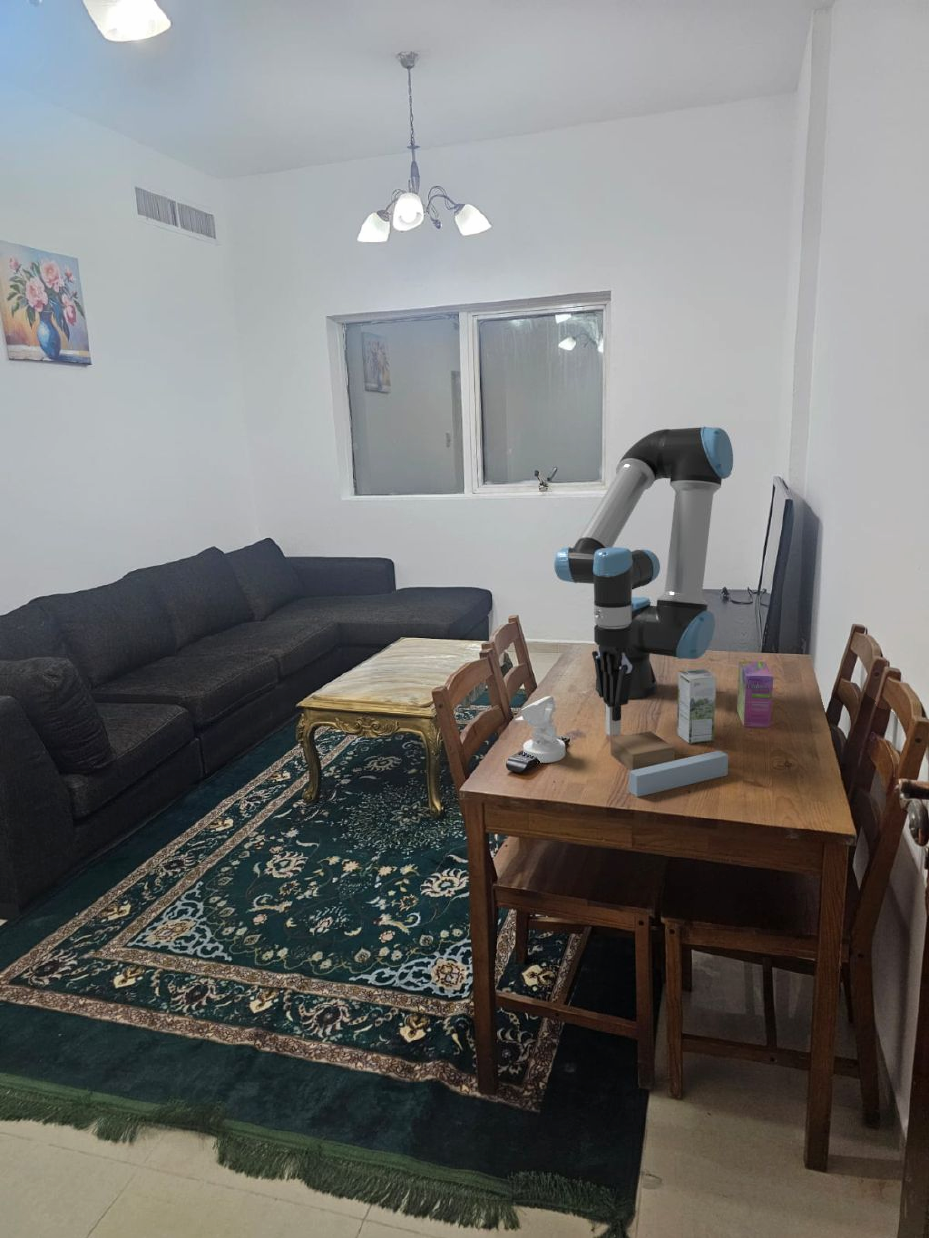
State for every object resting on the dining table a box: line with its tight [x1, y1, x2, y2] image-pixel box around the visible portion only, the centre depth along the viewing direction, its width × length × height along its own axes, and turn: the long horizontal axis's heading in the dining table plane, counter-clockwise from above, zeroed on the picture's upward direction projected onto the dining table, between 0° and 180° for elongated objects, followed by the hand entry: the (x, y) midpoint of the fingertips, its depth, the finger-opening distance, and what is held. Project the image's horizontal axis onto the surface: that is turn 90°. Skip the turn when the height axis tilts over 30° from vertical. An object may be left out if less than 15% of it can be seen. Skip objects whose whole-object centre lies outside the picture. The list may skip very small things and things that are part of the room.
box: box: [736, 661, 774, 729], centre depth 170 cm, size 10×6×12 cm, turn 168°
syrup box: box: [676, 668, 717, 745], centre depth 161 cm, size 6×6×14 cm
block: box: [610, 730, 675, 771], centre depth 153 cm, size 9×9×4 cm
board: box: [628, 750, 729, 798], centre depth 142 cm, size 2×20×4 cm, turn 111°
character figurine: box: [514, 695, 566, 764], centre depth 157 cm, size 9×10×12 cm
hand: (613, 733), depth 162 cm, fingers closed
